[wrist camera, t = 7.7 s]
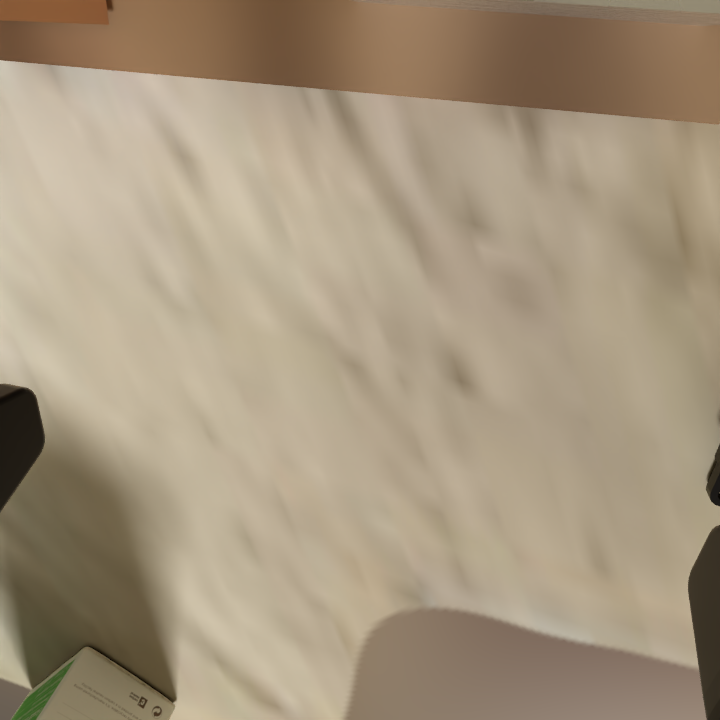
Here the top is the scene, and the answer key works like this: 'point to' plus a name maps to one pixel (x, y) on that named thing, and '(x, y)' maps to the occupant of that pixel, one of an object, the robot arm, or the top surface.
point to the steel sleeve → (590, 8)
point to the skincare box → (93, 693)
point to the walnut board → (399, 52)
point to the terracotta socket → (55, 11)
